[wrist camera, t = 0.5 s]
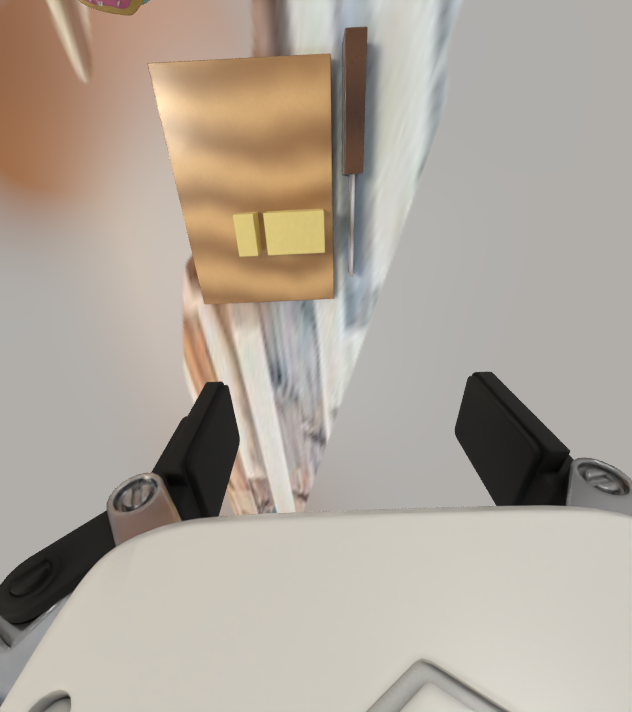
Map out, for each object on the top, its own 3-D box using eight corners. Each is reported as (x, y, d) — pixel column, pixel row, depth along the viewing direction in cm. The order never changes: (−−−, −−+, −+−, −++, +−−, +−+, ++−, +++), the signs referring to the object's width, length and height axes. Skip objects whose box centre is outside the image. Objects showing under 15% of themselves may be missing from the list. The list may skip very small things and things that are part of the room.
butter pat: (239, 212, 31) (232, 214, 29) (257, 211, 31) (252, 213, 29) (244, 251, 33) (239, 256, 31) (262, 250, 33) (258, 256, 31)
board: (152, 67, 27) (146, 62, 26) (329, 57, 26) (330, 53, 25) (206, 301, 37) (204, 304, 36) (333, 296, 37) (333, 298, 36)
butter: (266, 211, 31) (262, 213, 29) (323, 208, 31) (324, 210, 29) (271, 250, 33) (267, 255, 31) (324, 248, 33) (325, 252, 31)
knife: (342, 41, 26) (345, 27, 24) (362, 40, 26) (367, 26, 24) (341, 271, 36) (343, 277, 33) (356, 271, 36) (359, 276, 33)
